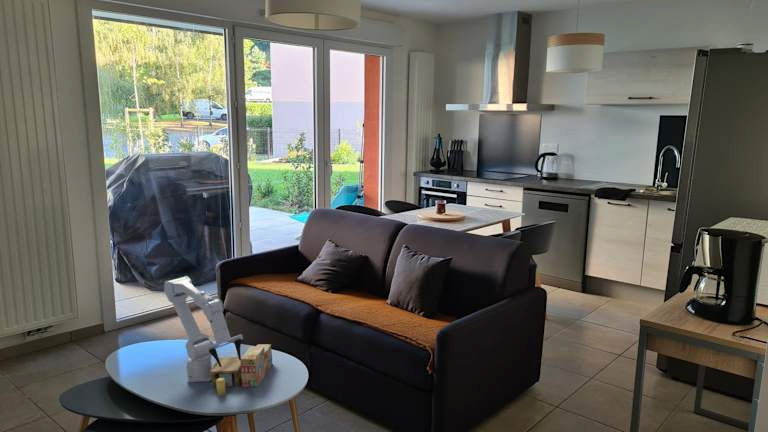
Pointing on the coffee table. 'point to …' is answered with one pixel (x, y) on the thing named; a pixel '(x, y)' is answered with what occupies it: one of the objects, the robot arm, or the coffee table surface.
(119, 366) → the coffee table surface
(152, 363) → the coffee table surface
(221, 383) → the cube joystick
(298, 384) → the coffee table surface
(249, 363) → the stack of blocks
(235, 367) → the open wooden box
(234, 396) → the coffee table surface
